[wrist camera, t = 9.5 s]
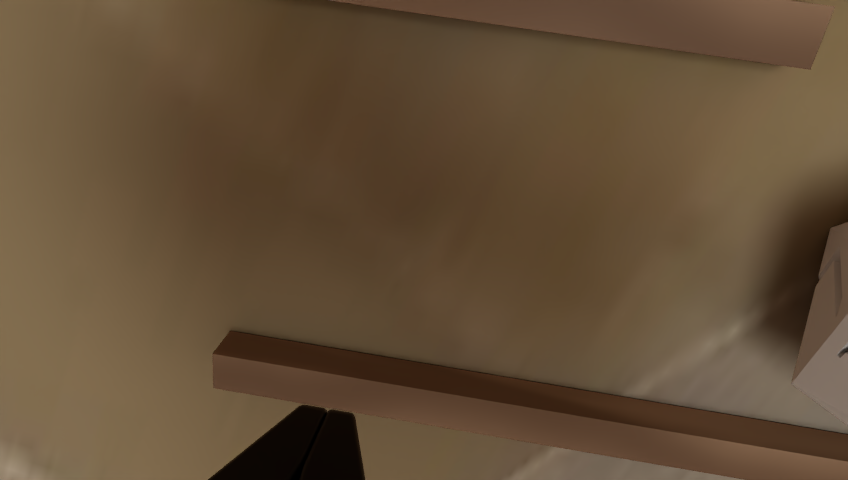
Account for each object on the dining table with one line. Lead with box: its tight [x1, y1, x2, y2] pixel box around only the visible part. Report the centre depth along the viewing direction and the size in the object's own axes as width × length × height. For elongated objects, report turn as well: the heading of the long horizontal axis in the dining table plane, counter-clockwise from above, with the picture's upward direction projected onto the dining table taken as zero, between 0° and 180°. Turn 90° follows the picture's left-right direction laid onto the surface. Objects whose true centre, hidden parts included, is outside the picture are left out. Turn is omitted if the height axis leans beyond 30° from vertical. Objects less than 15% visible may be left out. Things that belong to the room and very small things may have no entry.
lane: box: [213, 0, 848, 480], centre depth 17 cm, size 15×39×2 cm, turn 82°
